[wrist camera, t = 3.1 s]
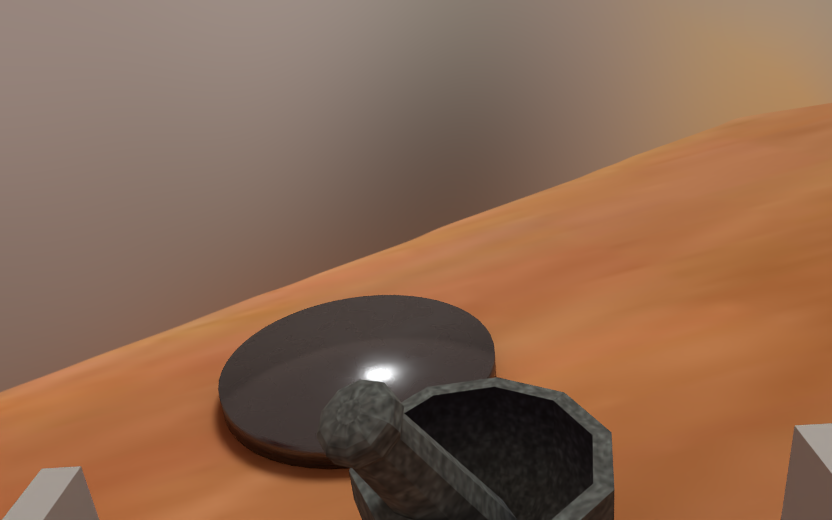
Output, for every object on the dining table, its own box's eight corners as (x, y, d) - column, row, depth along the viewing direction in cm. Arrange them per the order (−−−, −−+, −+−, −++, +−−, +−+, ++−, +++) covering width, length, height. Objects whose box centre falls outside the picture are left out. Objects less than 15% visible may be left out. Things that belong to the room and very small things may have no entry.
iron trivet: (544, 346, 45) (544, 325, 44) (379, 512, 33) (375, 487, 32) (349, 296, 55) (346, 278, 54) (166, 410, 43) (160, 389, 42)
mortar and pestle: (490, 472, 35) (473, 252, 30) (661, 578, 28) (675, 315, 23) (300, 614, 28) (241, 360, 23) (464, 796, 22) (427, 493, 17)
